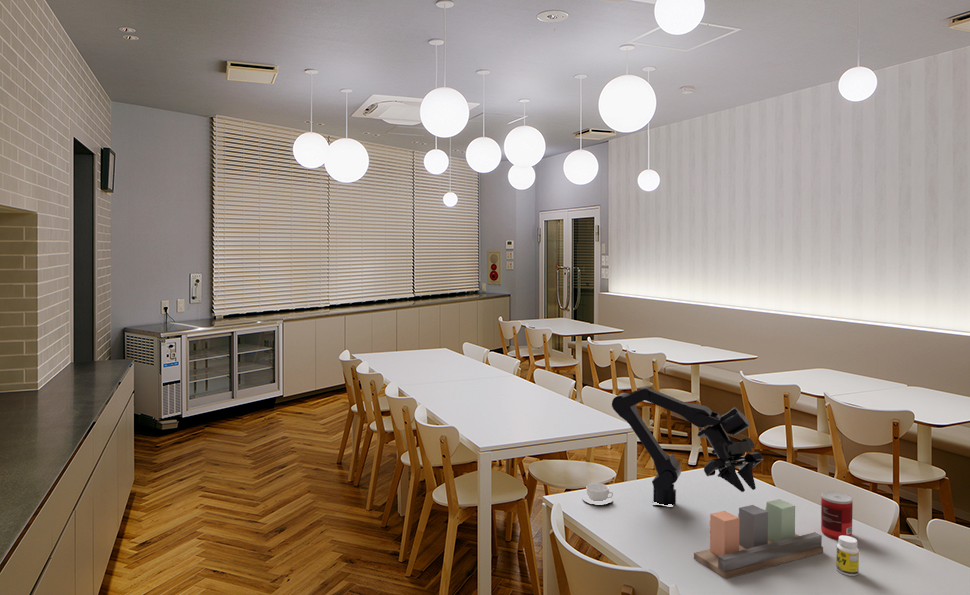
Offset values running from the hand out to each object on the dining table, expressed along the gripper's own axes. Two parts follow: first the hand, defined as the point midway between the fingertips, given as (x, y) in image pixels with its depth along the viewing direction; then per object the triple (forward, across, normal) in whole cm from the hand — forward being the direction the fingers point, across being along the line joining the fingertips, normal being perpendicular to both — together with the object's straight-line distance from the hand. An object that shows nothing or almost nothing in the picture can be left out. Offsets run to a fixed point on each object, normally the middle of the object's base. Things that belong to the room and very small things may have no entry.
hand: (749, 490), depth 169 cm
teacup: (-17, -28, +34) cm, 47 cm away
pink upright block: (+15, -20, -1) cm, 25 cm away
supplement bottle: (+28, +3, -11) cm, 30 cm away
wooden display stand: (+17, -10, -1) cm, 20 cm away
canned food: (+17, +20, 0) cm, 26 cm away
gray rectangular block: (+15, -10, -1) cm, 18 cm away
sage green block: (+15, 0, -1) cm, 15 cm away
